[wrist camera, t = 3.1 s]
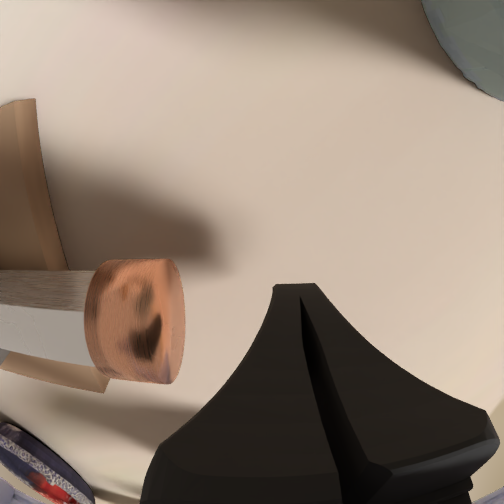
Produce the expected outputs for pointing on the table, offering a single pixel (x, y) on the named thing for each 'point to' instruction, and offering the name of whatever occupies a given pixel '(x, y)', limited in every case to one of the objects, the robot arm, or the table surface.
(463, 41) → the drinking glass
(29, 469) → the dish
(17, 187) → the stand
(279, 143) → the table surface
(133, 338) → the shaft
